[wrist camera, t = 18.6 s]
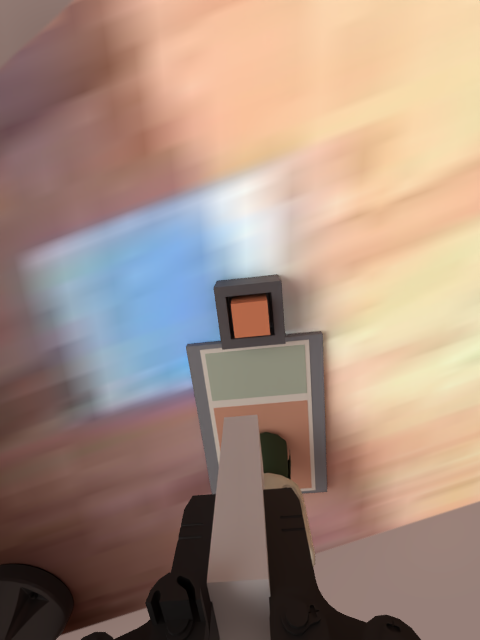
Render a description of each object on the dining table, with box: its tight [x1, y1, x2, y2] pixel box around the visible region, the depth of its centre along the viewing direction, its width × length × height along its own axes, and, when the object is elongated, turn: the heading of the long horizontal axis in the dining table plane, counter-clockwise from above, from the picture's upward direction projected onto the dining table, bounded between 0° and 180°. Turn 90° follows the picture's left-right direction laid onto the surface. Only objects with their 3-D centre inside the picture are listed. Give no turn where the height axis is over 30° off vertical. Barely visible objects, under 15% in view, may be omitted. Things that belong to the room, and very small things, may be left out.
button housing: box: [214, 275, 286, 350], centre depth 31 cm, size 6×6×4 cm
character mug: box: [260, 432, 315, 567], centre depth 31 cm, size 11×7×13 cm, turn 23°
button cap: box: [231, 293, 270, 338], centre depth 30 cm, size 3×3×3 cm
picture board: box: [186, 331, 327, 494], centre depth 37 cm, size 15×22×1 cm
